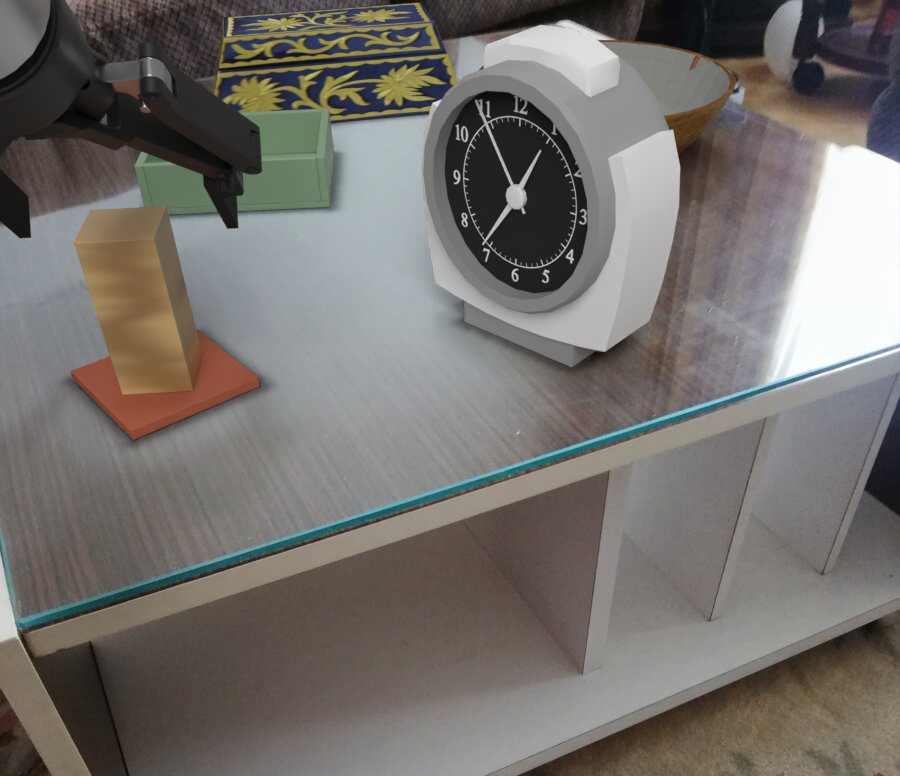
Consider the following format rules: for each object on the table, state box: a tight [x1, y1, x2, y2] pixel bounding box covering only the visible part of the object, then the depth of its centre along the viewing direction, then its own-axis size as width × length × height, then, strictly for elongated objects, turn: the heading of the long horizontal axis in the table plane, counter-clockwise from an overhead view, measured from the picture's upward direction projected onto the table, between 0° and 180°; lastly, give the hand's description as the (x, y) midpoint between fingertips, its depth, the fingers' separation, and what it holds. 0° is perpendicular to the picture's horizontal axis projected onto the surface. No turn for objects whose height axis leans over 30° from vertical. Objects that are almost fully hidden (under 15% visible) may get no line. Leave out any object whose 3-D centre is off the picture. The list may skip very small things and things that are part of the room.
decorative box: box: [211, 1, 459, 123], centre depth 105 cm, size 11×30×9 cm, turn 101°
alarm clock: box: [421, 24, 681, 368], centre depth 64 cm, size 18×8×20 cm, turn 48°
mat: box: [70, 328, 260, 441], centre depth 67 cm, size 10×10×1 cm
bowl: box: [477, 39, 737, 155], centre depth 92 cm, size 25×25×8 cm
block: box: [73, 206, 202, 395], centre depth 63 cm, size 5×5×11 cm
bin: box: [133, 109, 335, 216], centre depth 91 cm, size 18×14×5 cm
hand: (128, 213), depth 61 cm, fingers open, 13 cm apart
